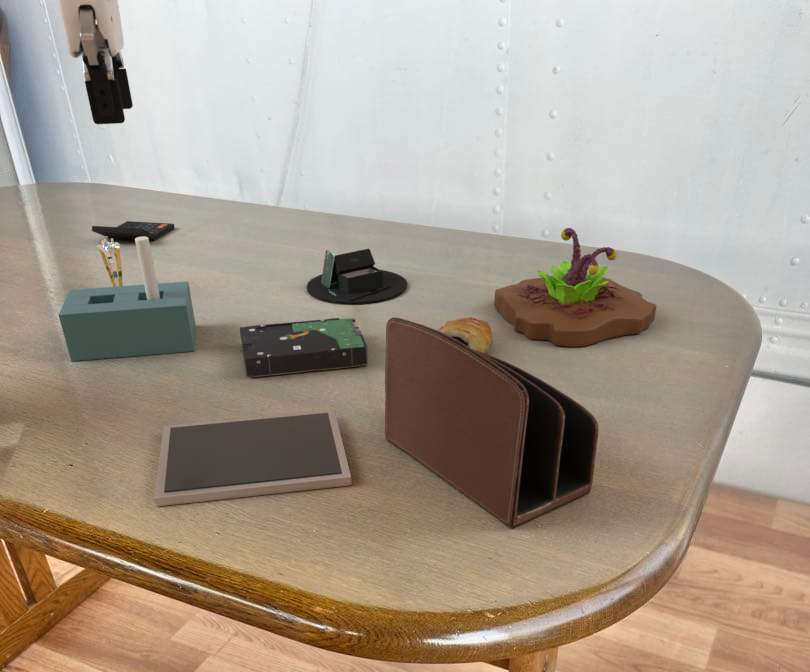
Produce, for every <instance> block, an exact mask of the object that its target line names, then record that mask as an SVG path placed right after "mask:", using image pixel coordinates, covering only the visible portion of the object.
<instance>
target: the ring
mask: <svg viewBox="0 0 810 672" xmlns="http://www.w3.org/2000/svg"><path fill="white" fill-rule="evenodd" d="M99 241H100V243H101V244H99V243H98V244H97V245H95V247H96V249H98V252H99V254H100V256H101V259H102V261H103V264H104V266H105V269H106V271H107V275H108V277H109V280H110V282H111V285H112V287H118V286H124V285H123V270H122V269H123V268H122V260H121V259H122V258H121V252H120V246H121V245H120V243H119V242H114V238H110V241H109V240H107V238H103V239H102V240H99ZM112 253H113V255H114V257H115V261H114V259H113V256H112ZM115 262H116V265H115ZM116 266H117V267H116Z"/></svg>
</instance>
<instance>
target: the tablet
mask: <svg viewBox="0 0 810 672" xmlns="http://www.w3.org/2000/svg"><path fill="white" fill-rule="evenodd" d="M340 429H341V428H340V425H339V422H338V418H337V414H336V410H335V409H328V410H327V409H326V410H316V411H307V412H297V413H296V412H295V413H287V414H285V413H284V414H276V415H275V414H274V415H266V416H265V415H263V416H254V417H253V416H252V417H243V418H233V419H224V420H212V421H202V422H201V421H200V422H191V423H190V422H189V423H182V424H170V425H163V426H162V435H161V444H160V452H159V453H160V454H159V460H158V461H159V462H158V470H157V479H156V485H155V486H156V487H155V495H154V501H155V503H156V507H166V506H167V507H168V506H175V505H184V504H194V503H202V502H203V503H204V502H212V501H221V500H230V499H238V498H239V499H240V498H248V497H257V496H264V495H265V496H267V495H275V494H285V493H294V492H302V491H313V490H321V489H330V488H331V489H332V488H340V487H341V488H342V487H349V486H352V485H353V481H352V473H351V468H350V466H349V461H348V458H347V453H346V450H345V445H344V442H343V437H342V434H341V430H340Z"/></svg>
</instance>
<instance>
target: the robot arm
mask: <svg viewBox="0 0 810 672" xmlns="http://www.w3.org/2000/svg"><path fill="white" fill-rule="evenodd" d="M57 2H58V7H59V12H60V17H61V23H62V27H63V33H64V39H65V43H66V48H67V49H66V50H67V53H68V54H69V56H70V57H72V58H73V59H77V58H79V57H81V59H82V67H83V69H82V70H83V75H84V84H85V89H86V95H87V98H88V103H89V107H90V112H91V117H92V121H93V123H94V124H96V125H114V124H123V123H124V122H125V121H126V118H125V112H124V110H130V109H132V108H133V99H132V94H131V93H132V92H131V88H130V84H129V83H130V82H129V77H128V73H127V72H128V71H127V68H125V63H124V59H123V58H124V57H123V54H122V50H123V49H124V45H125V41H124V33H123V28H122V20H121V19H122V18H121V13H120V6H119V1H118V0H57Z"/></svg>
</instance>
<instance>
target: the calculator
mask: <svg viewBox="0 0 810 672" xmlns="http://www.w3.org/2000/svg"><path fill="white" fill-rule="evenodd" d="M175 227H176V226H175V224H174V223H168V222H152V221H131V220H127V221H125V222H123V223H121V224H119V225H117V226H102V225H92V226H91V231H92V232H93V233H96V234H98V235H101V236H103V237H105V236H108V237H107V238H109V237H120V238H119V239H126V238H132V239H131V240H135V238H137V237H148V238H149V241H157V240H159V239H160V238H162V237H163V236H165V235H167V234H169V233H170V232H171V230H172V231H173V230H175V229H174V228H175ZM166 233H167V234H166Z"/></svg>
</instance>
